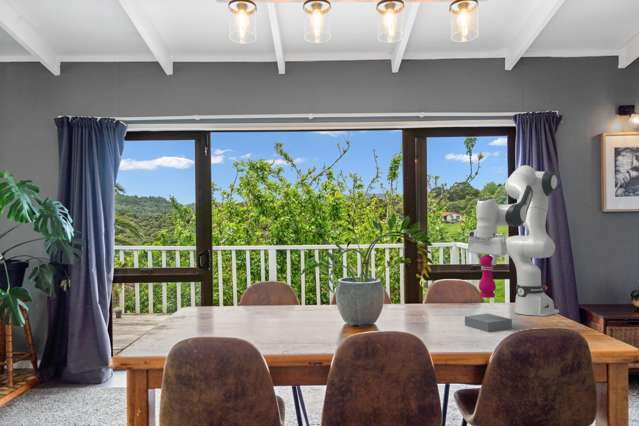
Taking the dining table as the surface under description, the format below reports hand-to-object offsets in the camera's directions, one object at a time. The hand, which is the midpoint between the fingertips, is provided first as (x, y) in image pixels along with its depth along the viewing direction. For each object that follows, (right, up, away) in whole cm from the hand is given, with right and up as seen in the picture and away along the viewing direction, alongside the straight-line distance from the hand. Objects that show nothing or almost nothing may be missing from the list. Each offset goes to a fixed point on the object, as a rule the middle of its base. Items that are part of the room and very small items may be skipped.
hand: (487, 264), depth 210 cm
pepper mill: (0, -15, 0) cm, 15 cm away
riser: (0, -28, 0) cm, 28 cm away
